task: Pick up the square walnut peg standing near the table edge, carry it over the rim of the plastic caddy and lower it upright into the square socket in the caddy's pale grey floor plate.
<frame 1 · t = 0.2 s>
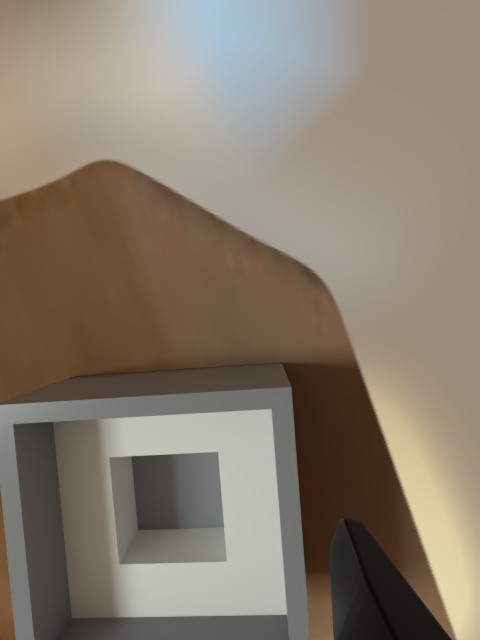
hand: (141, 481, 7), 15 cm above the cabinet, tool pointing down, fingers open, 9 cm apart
caddy: (183, 474, 23), on the cabinet
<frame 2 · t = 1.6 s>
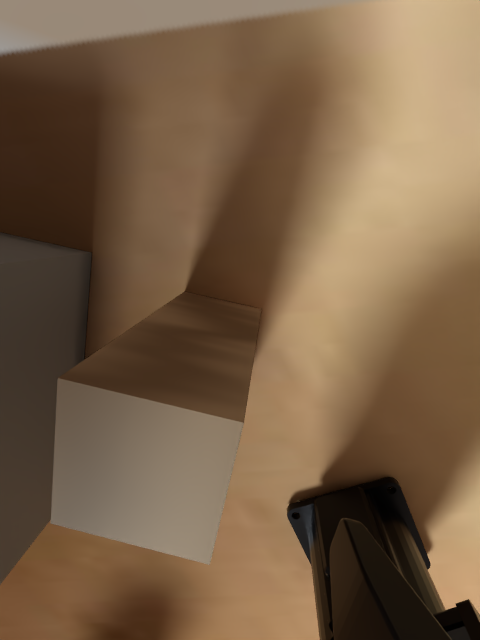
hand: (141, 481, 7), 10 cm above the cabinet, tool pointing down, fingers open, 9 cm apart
walnut peg: (215, 336, 17), on the cabinet
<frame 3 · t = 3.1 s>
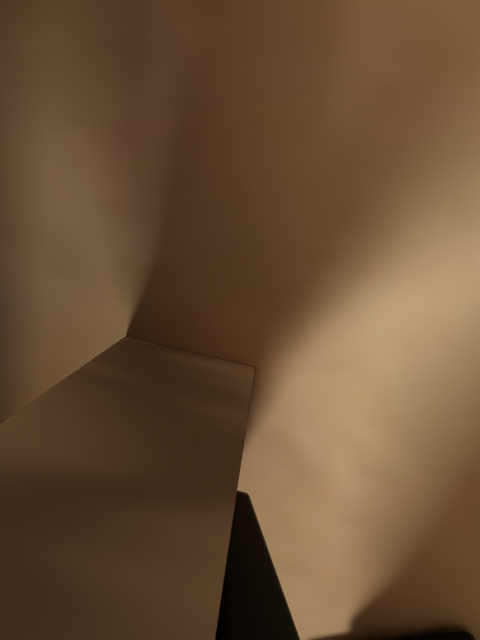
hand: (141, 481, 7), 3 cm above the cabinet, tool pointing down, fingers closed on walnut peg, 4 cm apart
walnut peg: (179, 409, 10), on the cabinet, touching gripper
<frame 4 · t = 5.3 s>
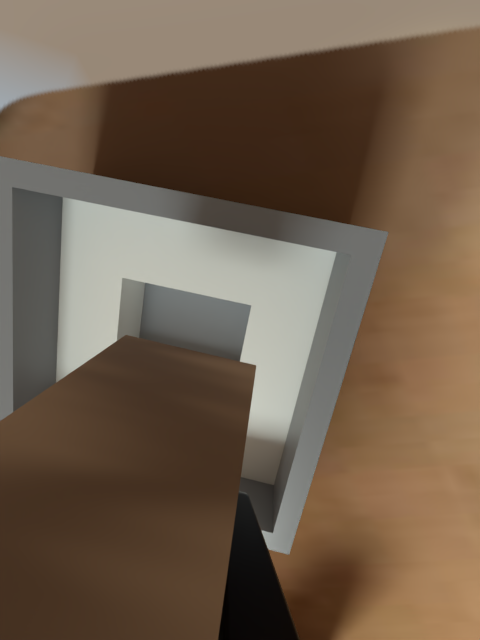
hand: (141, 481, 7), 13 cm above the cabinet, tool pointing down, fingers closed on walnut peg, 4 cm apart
caddy: (196, 330, 20), on the cabinet
walnut peg: (180, 408, 10), point 10 cm above the cabinet, touching gripper
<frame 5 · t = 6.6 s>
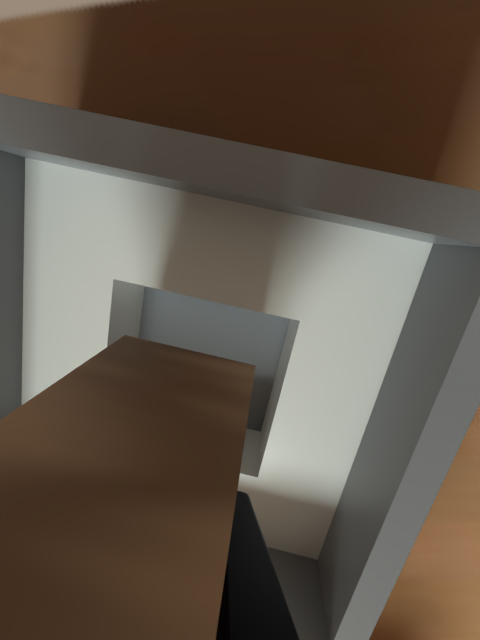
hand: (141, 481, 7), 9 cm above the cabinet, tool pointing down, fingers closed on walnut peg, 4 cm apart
caddy: (210, 347, 16), on the cabinet
walnut peg: (179, 408, 10), point 6 cm above the cabinet, touching gripper
when the fingers open (5 cm above the cabinet, at t = 7.7 s): walnut peg drops 1 cm, resting on caddy.
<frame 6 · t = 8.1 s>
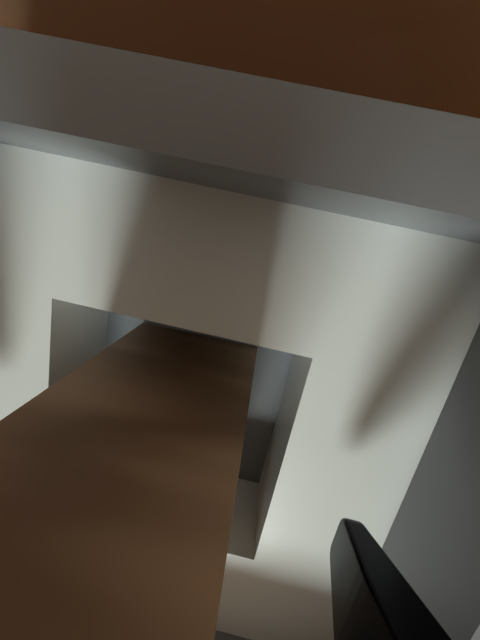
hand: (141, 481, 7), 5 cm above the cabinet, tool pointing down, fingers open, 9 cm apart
caddy: (196, 376, 13), on the cabinet
walnut peg: (190, 387, 12), point 1 cm above the cabinet, touching caddy
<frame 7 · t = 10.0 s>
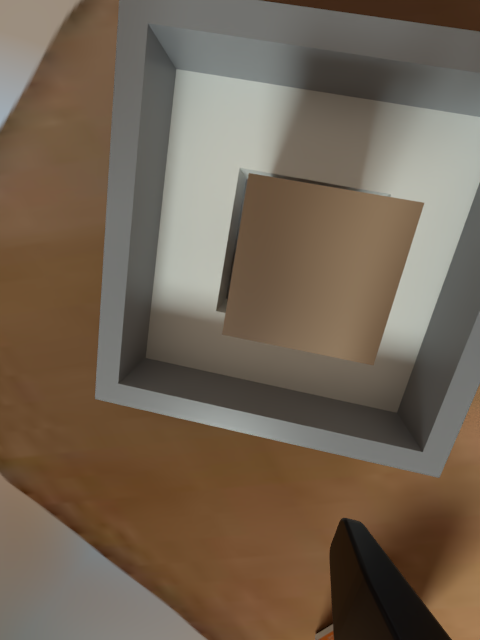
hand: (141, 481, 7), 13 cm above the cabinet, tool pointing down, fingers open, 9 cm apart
caddy: (293, 252, 18), on the cabinet
skincare box: (357, 628, 26), on the cabinet
walnut peg: (294, 251, 17), point 1 cm above the cabinet, touching caddy
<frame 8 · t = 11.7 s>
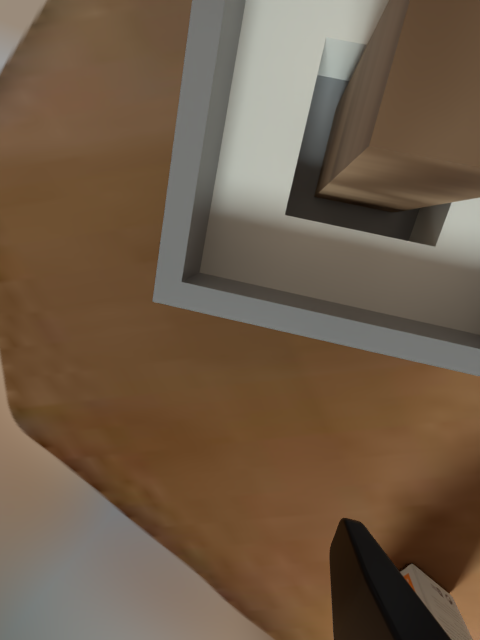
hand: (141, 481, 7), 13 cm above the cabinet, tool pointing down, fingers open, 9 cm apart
caddy: (359, 167, 17), on the cabinet
skincare box: (397, 594, 24), on the cabinet
walnut peg: (365, 162, 16), point 1 cm above the cabinet, touching caddy
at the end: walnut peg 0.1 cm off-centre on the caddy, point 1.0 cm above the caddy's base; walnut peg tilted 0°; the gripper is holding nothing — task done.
